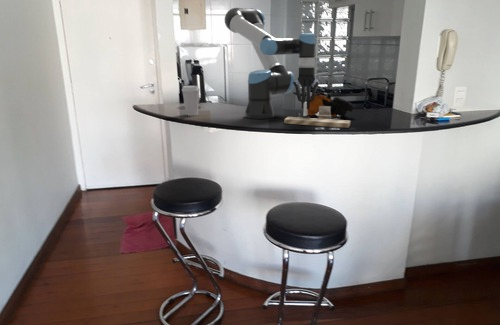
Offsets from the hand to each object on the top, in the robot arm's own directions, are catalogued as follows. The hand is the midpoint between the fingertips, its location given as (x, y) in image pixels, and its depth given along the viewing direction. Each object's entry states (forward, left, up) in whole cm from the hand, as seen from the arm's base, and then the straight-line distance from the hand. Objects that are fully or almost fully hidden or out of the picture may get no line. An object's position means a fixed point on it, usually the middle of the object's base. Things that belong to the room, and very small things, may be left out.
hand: (305, 115), depth 193 cm
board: (+8, -10, -2) cm, 13 cm away
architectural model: (+10, 0, -3) cm, 10 cm away
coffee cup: (-60, -7, -2) cm, 61 cm away
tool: (+10, +13, -2) cm, 16 cm away
